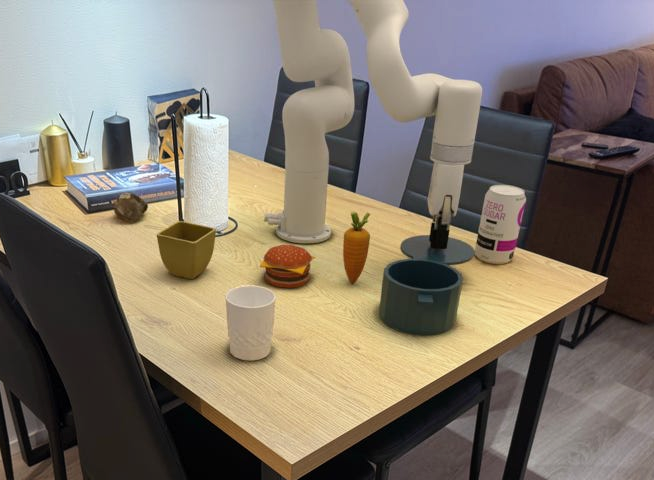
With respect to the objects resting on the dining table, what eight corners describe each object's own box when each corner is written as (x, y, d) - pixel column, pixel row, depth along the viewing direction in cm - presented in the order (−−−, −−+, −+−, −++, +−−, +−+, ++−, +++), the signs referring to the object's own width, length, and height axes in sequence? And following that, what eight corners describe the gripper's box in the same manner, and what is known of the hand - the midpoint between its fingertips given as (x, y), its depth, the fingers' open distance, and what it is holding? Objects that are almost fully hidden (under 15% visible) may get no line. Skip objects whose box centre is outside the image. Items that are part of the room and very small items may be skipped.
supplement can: (513, 253, 152) (528, 186, 144) (511, 267, 145) (527, 198, 137) (475, 248, 154) (488, 182, 146) (472, 261, 147) (485, 193, 140)
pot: (379, 339, 118) (384, 294, 113) (378, 291, 134) (383, 250, 129) (459, 346, 117) (468, 301, 112) (449, 296, 133) (457, 255, 128)
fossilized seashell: (126, 198, 170) (101, 216, 163) (133, 178, 165) (109, 197, 158) (150, 216, 170) (127, 236, 163) (158, 198, 165) (135, 217, 158)
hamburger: (315, 272, 141) (317, 242, 137) (302, 292, 133) (304, 260, 129) (271, 265, 143) (272, 235, 139) (256, 284, 135) (257, 253, 132)
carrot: (364, 279, 138) (372, 207, 131) (365, 290, 134) (373, 216, 126) (340, 277, 139) (346, 205, 131) (339, 288, 135) (345, 214, 127)
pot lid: (401, 265, 133) (404, 236, 130) (398, 238, 145) (402, 210, 142) (478, 270, 131) (483, 241, 128) (469, 242, 144) (474, 215, 141)
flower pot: (218, 269, 141) (217, 227, 136) (196, 286, 134) (194, 242, 129) (180, 261, 144) (179, 220, 139) (157, 277, 137) (155, 234, 132)
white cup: (225, 339, 117) (224, 285, 111) (271, 338, 117) (273, 284, 112) (226, 363, 110) (226, 307, 105) (275, 362, 110) (277, 307, 105)
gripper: (428, 140, 135) (416, 230, 145) (434, 162, 121) (420, 259, 131) (467, 142, 134) (452, 232, 144) (477, 164, 121) (461, 262, 130)
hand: (437, 244), depth 137 cm, fingers closed on pot lid, 2 cm apart
